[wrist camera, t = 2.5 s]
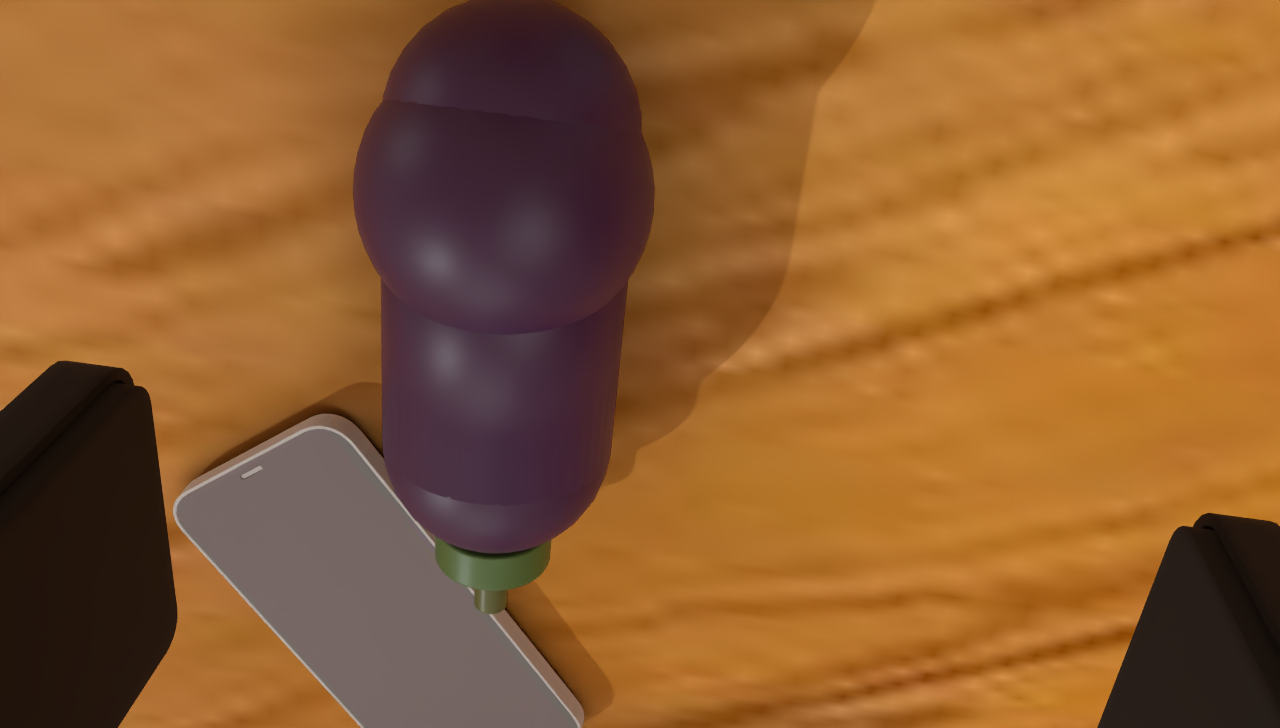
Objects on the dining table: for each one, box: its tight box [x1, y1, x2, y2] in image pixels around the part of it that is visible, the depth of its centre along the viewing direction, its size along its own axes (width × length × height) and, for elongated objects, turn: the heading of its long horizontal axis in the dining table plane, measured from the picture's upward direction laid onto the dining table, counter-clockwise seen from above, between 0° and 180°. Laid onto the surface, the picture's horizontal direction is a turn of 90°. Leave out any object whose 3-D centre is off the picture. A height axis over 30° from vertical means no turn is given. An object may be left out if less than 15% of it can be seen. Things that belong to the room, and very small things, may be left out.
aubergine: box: [353, 0, 655, 614], centre depth 32 cm, size 7×18×7 cm, turn 175°
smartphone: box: [173, 414, 584, 728], centre depth 41 cm, size 7×1×15 cm
